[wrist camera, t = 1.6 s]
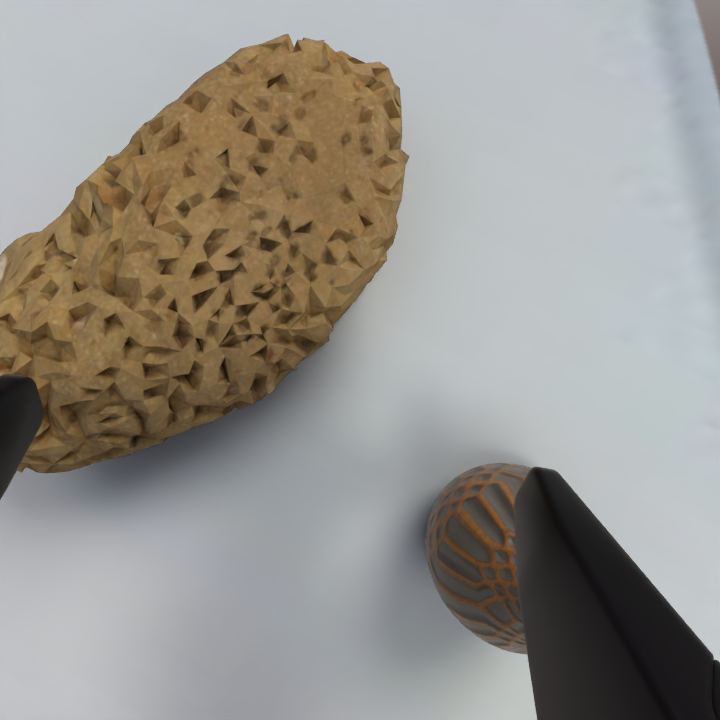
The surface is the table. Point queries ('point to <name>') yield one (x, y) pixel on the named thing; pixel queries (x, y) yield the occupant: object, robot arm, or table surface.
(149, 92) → the table surface
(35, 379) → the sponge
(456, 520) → the vase
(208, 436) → the table surface
